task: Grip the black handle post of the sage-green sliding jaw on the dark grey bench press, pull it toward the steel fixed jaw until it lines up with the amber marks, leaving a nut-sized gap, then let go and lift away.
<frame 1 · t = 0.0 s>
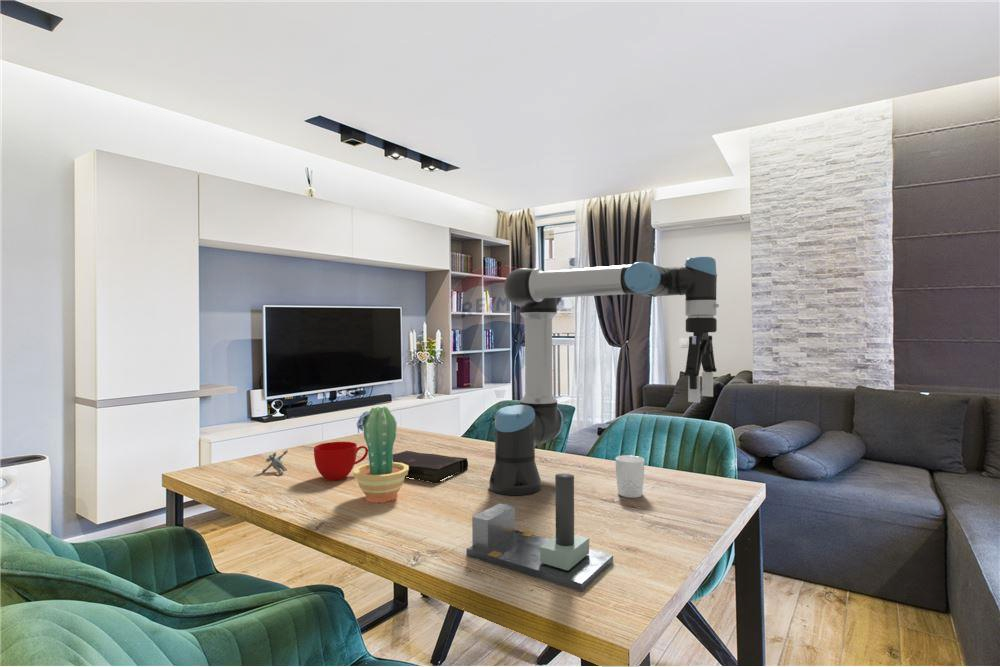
hand: (701, 399, 135), 28 cm above the table, tool pointing down, fingers open, 13 cm apart
diary: (420, 473, 170), on the table
sliding jaw: (564, 516, 101), point 10 cm above the table, slide at 0.0 cm
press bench: (538, 559, 105), on the table
white cup: (630, 494, 146), on the table
grey figurine: (278, 472, 171), on the table
potted cactus: (381, 498, 144), on the table
ceramic cup: (342, 477, 165), on the table
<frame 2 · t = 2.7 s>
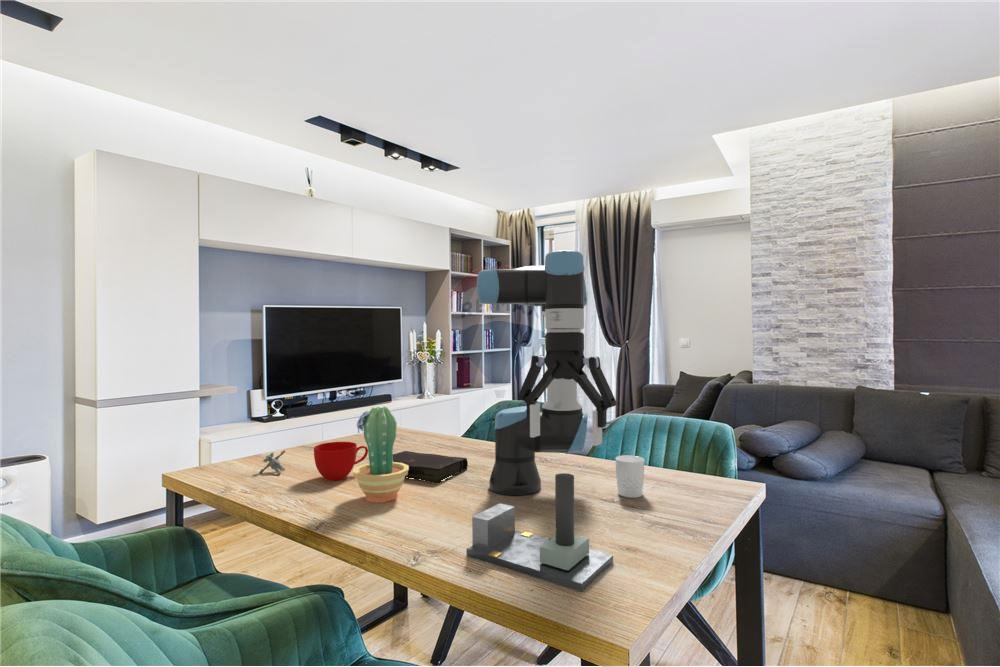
hand: (565, 440, 101), 25 cm above the table, tool pointing down, fingers open, 13 cm apart
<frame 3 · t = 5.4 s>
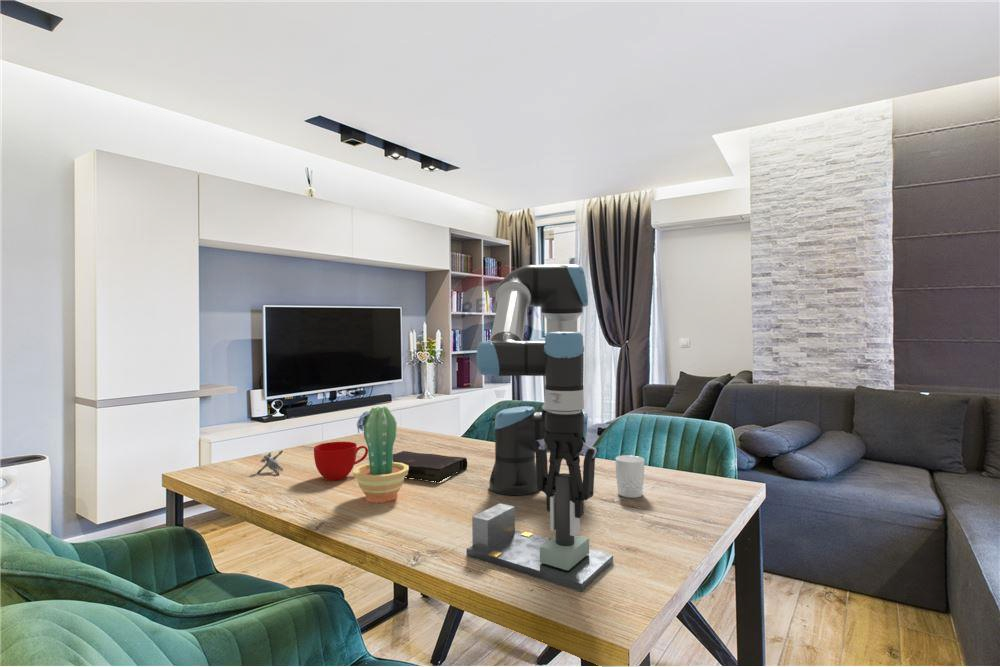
hand: (564, 530, 101), 7 cm above the table, tool pointing down, fingers closed on sliding jaw, 4 cm apart
sliding jaw: (564, 516, 101), point 10 cm above the table, slide at 0.0 cm, touching gripper
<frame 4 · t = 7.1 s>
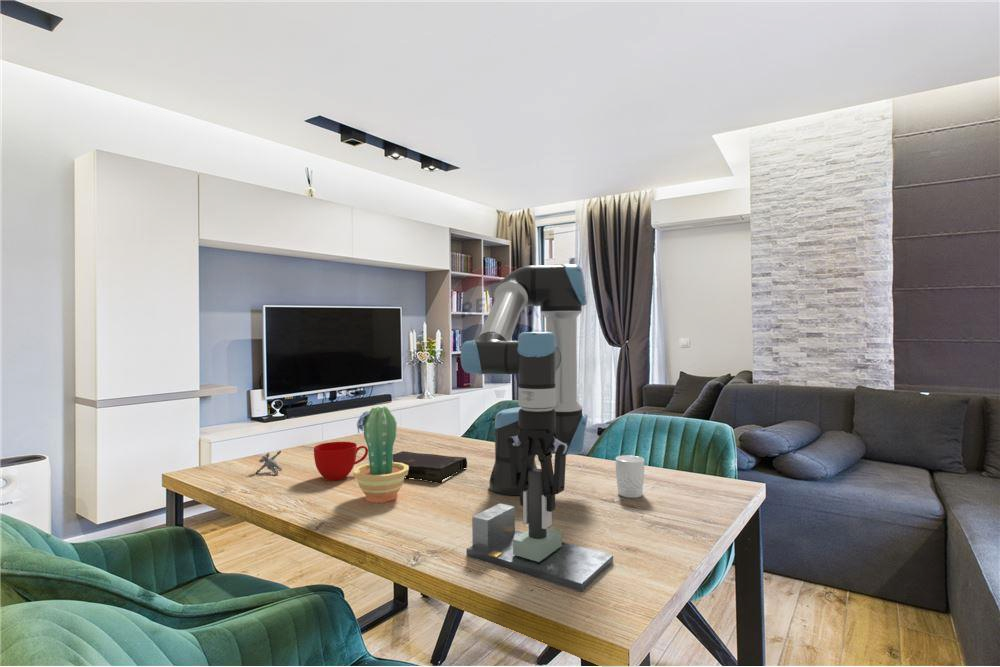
hand: (537, 524, 105), 7 cm above the table, tool pointing down, fingers closed on sliding jaw, 4 cm apart
sliding jaw: (537, 510, 105), point 10 cm above the table, slide at 6.2 cm, touching gripper
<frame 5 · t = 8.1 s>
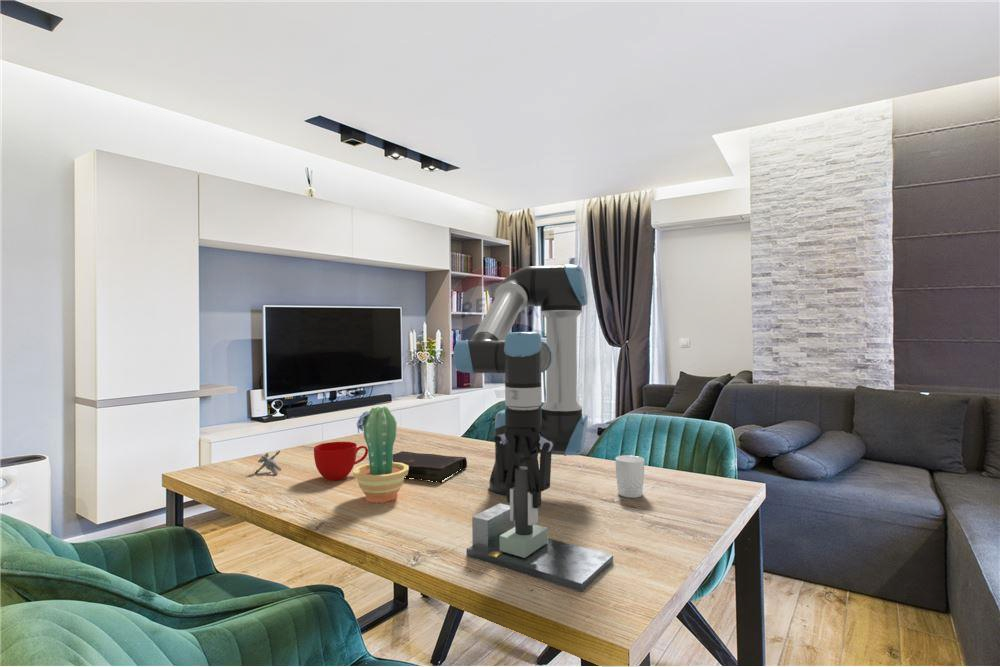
hand: (523, 520, 107), 7 cm above the table, tool pointing down, fingers closed on sliding jaw, 4 cm apart
sliding jaw: (523, 507, 107), point 10 cm above the table, slide at 9.4 cm, touching gripper
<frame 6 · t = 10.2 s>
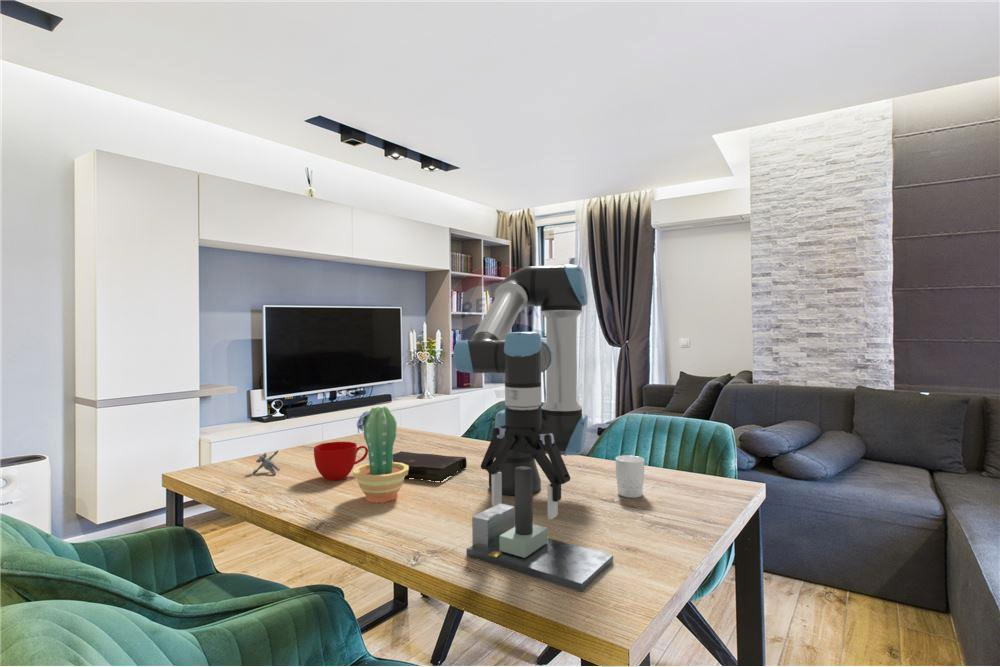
hand: (523, 510, 107), 9 cm above the table, tool pointing down, fingers open, 13 cm apart
sliding jaw: (523, 507, 107), point 10 cm above the table, slide at 9.5 cm
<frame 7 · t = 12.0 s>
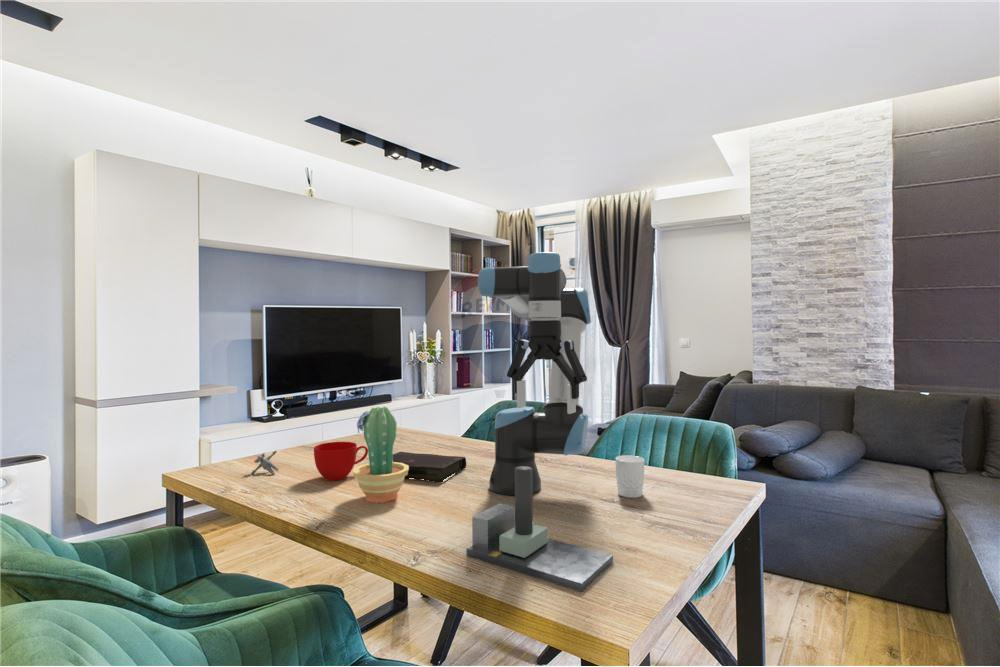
hand: (545, 410, 122), 27 cm above the table, tool pointing down, fingers open, 13 cm apart
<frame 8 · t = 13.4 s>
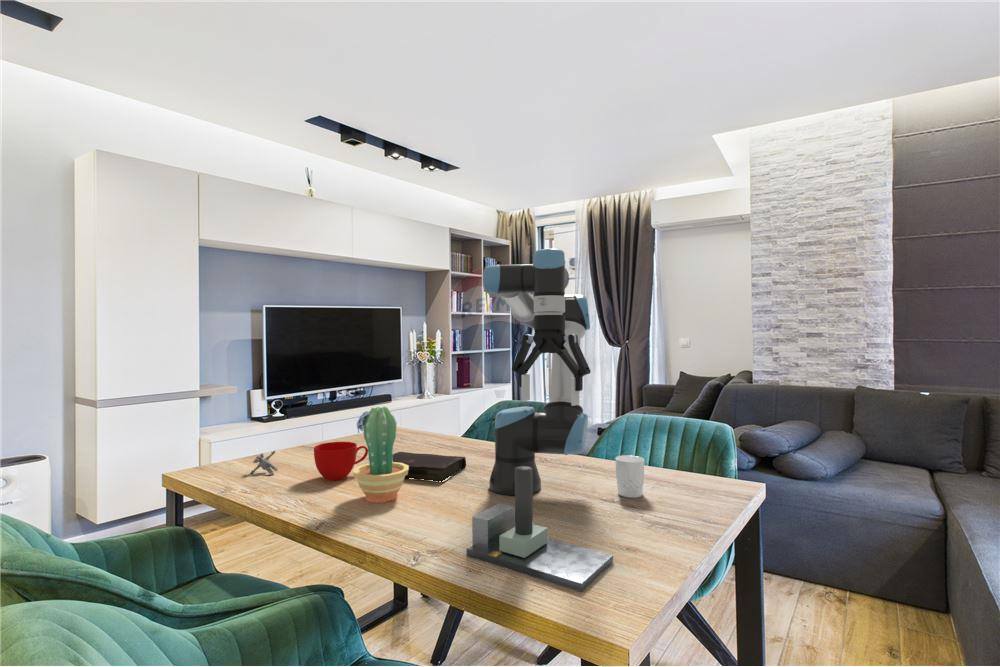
hand: (549, 402, 125), 29 cm above the table, tool pointing down, fingers open, 13 cm apart
at the end: sliding jaw slide at 9.5 cm; the gripper is holding nothing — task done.
